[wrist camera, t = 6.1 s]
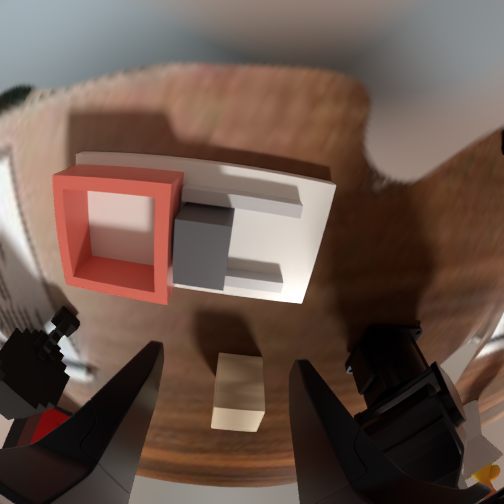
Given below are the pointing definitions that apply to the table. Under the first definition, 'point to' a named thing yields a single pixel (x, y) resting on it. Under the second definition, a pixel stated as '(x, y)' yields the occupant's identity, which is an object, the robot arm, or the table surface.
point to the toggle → (202, 245)
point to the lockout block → (238, 393)
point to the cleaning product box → (35, 427)
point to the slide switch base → (163, 222)
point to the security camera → (34, 368)
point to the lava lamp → (479, 449)
